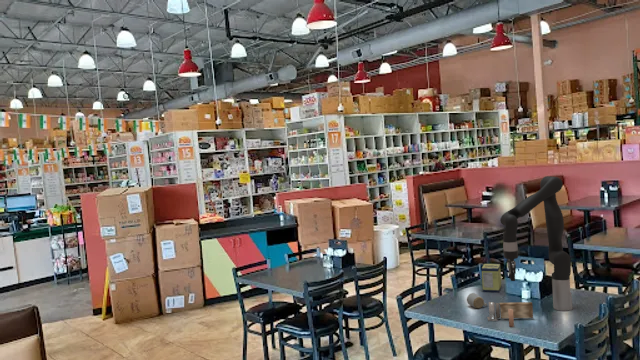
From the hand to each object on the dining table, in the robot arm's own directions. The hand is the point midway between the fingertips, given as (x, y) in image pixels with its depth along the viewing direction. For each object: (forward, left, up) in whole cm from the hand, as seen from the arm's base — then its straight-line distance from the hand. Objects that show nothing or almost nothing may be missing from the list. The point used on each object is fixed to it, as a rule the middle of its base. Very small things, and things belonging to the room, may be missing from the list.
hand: (512, 279), depth 295 cm
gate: (+2, +10, -18) cm, 21 cm away
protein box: (+6, -51, -20) cm, 55 cm away
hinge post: (+13, +11, -19) cm, 25 cm away
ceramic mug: (+19, -14, -20) cm, 30 cm away
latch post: (+5, +22, -19) cm, 29 cm away
